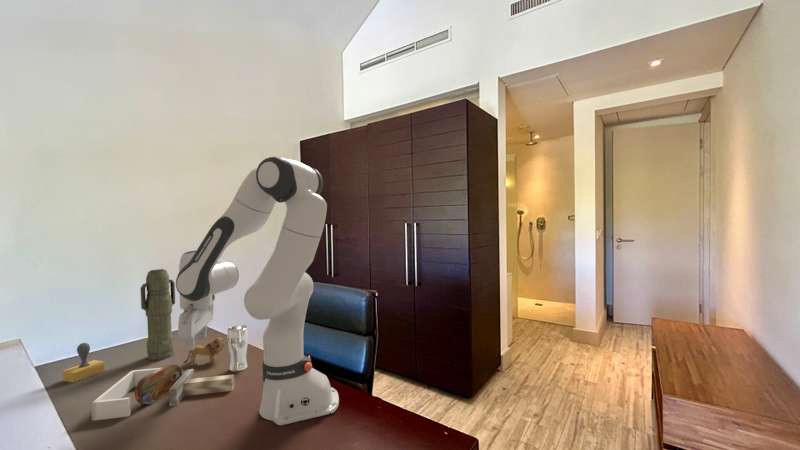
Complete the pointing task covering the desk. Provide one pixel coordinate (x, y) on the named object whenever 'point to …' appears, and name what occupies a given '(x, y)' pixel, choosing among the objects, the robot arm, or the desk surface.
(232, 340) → the beer glass
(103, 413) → the box
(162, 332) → the thermos
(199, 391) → the scraper
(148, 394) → the tin
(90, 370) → the rubber stamp
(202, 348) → the lion figurine
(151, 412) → the desk surface
